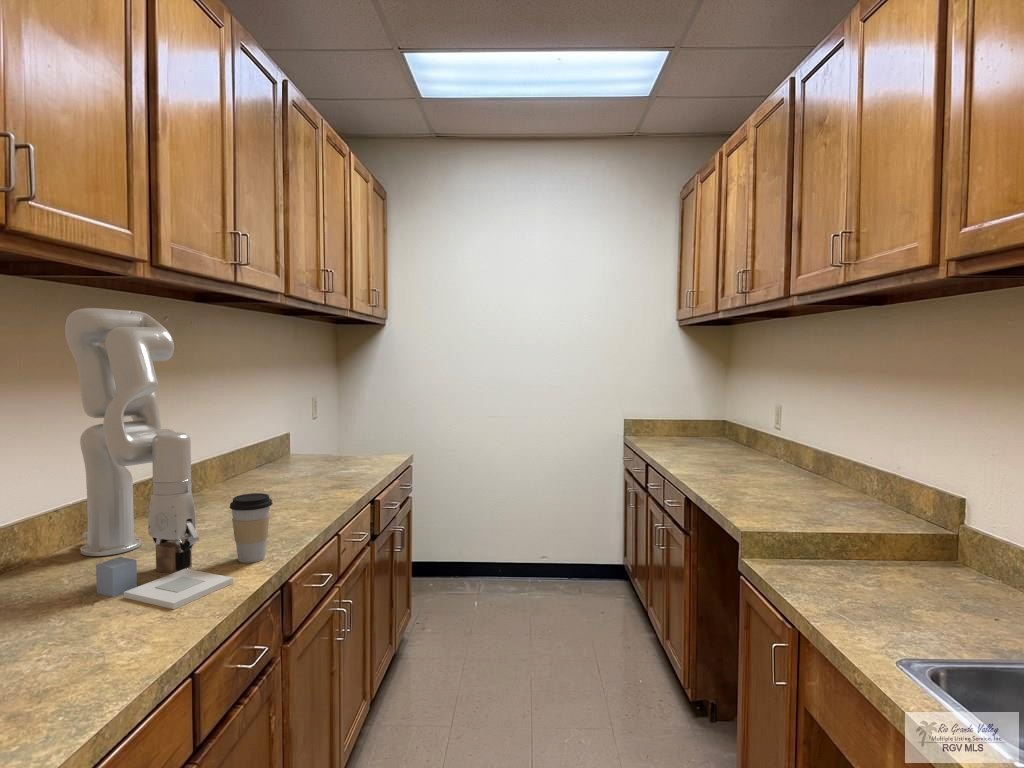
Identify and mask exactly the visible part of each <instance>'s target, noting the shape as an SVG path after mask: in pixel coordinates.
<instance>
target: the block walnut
mask: <svg viewBox="0 0 1024 768" xmlns="http://www.w3.org/2000/svg"><path fill="white" fill-rule="evenodd" d="M184 543H185V540H182V545H183V544H184ZM155 545H156V544H155ZM177 552H178V550H177V546H176V541H167V542H164V543H161V544H158V545H156V547H155V571H156V572H157V571H158V573H162V572H163V573H162V574H167V573H168V574H167V575H170V574H173V573H175V572H178V571H181V570H176V553H177ZM192 560H193V559H192V549H191V550H190V566H189V567H187V568H188V569H190V567H191V568H192V567H193V566H192V564H193V563H192ZM187 568H184V569H187ZM182 570H183V569H182Z"/></svg>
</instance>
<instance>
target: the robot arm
mask: <svg viewBox="0 0 1024 768" xmlns="http://www.w3.org/2000/svg"><path fill="white" fill-rule="evenodd" d="M64 332H65V333H64V335H65V339H66V342H67V346H68V348H69V350H70V352H71V354H72V356H73V358H74V360H75V364H76V368H77V375H78V383H79V388H80V389H79V390H80V396H81V402H82V403H81V404H82V407H83V410H84V412H85V414H86V415H87V416H89V417H90V418H93V419H94V418H95V419H103V422H102V423H99V424H95V425H92V426H89V427H87V428H85V430H83V432H82V434H81V436H80V438H79V443H80V445H79V446H80V450H81V454H82V458H83V462H84V469H85V476H86V477H85V480H86V481H85V482H86V483H85V484H86V504H87V505H86V506H87V510H86V511H87V512H86V513H87V531H84V532H83V533H82V538H86V540H87V541H86V544H84V545H82V546H81V547H80V554H81V555H84V556H87V557H104V556H113V555H114V556H115V555H117V554H118V555H119V554H123V553H126V552H130V551H132V550H135V549H138V548H139V547H140V546H141V545H142V538H140V537H137V536H135V524H134V522H135V519H134V484H133V483H134V482H133V476H132V474H131V472H130V470H129V469H128V468H127V467H131V466H137V465H144V464H151V463H152V493H151V494H150V499H149V500H150V501H149V506H148V516H147V517H148V518H147V532H148V535H149V537H151V538H152V541H153V542H154V543H155V546H154V547H155V548H156V545H158V544H161V543H164V542H167V541H176V546H177V550H178V552H177V553H176V570H182V569H184V568H187V567H189V566H190V550H191V551H192V548H193V546H194V545H195V543H197V542H198V541H199V540H200V537H199V535H198V534H199V533H197V531H196V528H197V523H196V522H197V520H196V508H195V507H196V506H195V502H194V497H193V493H192V460H191V459H192V457H191V455H192V454H191V438H190V435H189V434H188V433H185V432H180V431H179V432H177V431H174V430H173V429H169V428H162V425H161V420H160V411H159V405H158V404H159V403H158V399H157V395H156V394H157V393H156V391H157V390H158V388H159V380H158V378H157V373H156V371H155V370H156V369H155V367H154V362H166V361H169V360H170V359H171V358H172V357H173V355H174V352H175V351H174V350H175V343H174V342H175V341H174V340H173V337H172V335H171V334H170V332H169V331H168V330H167V328H166V327H164V326H163V325H162V324H161V323H160V322H159V321H157V320H156V319H154V317H153V316H151V315H149V314H148V313H145V312H143V311H139V310H138V311H137V310H130V309H129V310H126V309H113V308H98V307H87V308H79V309H76V310H74V311H71V313H70V314H69V315H68V316H67V318H66V322H65V327H64ZM103 344H104V345H105V346H104V345H103ZM124 417H126V418H127V417H131V418H132V421H131V420H130V421H129V420H128V421H124V420H125V419H124ZM182 540H185V543H184V544H183V545H182Z"/></svg>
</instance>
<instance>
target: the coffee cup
mask: <svg viewBox="0 0 1024 768" xmlns="http://www.w3.org/2000/svg"><path fill="white" fill-rule="evenodd" d="M272 505H273V499H271V498H270V495H269V494H267V493H261V492H260V493H259V492H258V493H256V492H253V493H245V494H240V495H237V496H234V497H233V498H232V501H231V502H230V504H229V509H230V510H231V514H232V519H231V520H232V528H233V536H234V542H235V545H236V553H237V554H236V555H237V561H238V562H239V563H243V564H251V563H257V562H260V561H262V560H264V559H265V558H266V552H267V551H266V550H267V549H266V548H267V540H268V536H269V528H270V527H269V525H270V515H271V514H270V509H271V508H270V507H272Z"/></svg>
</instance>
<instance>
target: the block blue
mask: <svg viewBox="0 0 1024 768" xmlns="http://www.w3.org/2000/svg"><path fill="white" fill-rule="evenodd" d="M137 567H138V566H137V559H134V558H129V557H123V556H118V557H115V558H113V559H110V560H105V561H102V562H99V563H96V564H95V576H96V577H95V578H96V580H95V581H96V583H95V584H96V594H100V595H103V596H108V597H112V598H114V597H117V596H119V594H120V595H122V594H124V592H125V591H128V590H130V589H133V588H136V587H138V570H137V569H138V568H137Z"/></svg>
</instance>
